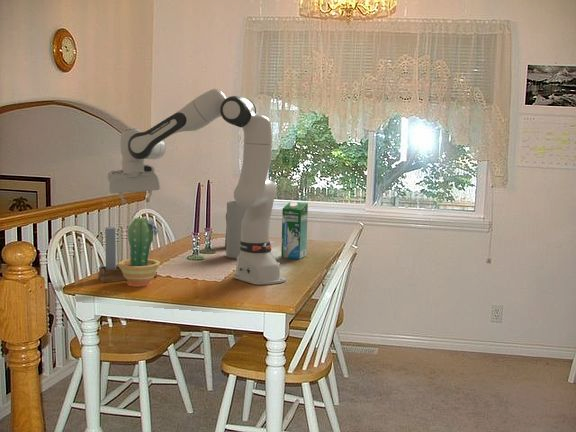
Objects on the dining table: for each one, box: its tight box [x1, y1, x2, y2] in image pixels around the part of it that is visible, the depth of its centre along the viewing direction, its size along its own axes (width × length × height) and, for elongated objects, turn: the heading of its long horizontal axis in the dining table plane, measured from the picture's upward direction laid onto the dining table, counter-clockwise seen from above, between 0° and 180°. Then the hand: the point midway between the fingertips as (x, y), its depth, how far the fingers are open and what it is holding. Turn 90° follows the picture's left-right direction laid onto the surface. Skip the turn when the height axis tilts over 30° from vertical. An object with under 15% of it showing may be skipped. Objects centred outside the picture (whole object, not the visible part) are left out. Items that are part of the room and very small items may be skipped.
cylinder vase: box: [225, 200, 246, 260], centre depth 303 cm, size 12×12×25 cm
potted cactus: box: [117, 216, 161, 288], centre depth 247 cm, size 15×15×25 cm
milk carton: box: [280, 201, 309, 260], centre depth 306 cm, size 9×9×25 cm
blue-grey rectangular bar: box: [104, 226, 117, 270], centre depth 253 cm, size 4×4×18 cm
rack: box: [97, 264, 158, 283], centre depth 257 cm, size 7×21×4 cm, turn 120°
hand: (136, 203), depth 270 cm, fingers open, 8 cm apart
